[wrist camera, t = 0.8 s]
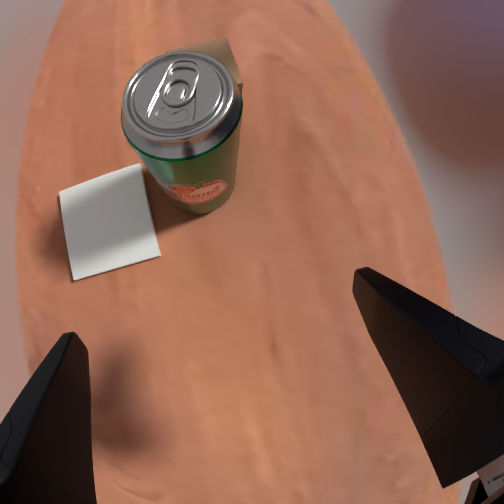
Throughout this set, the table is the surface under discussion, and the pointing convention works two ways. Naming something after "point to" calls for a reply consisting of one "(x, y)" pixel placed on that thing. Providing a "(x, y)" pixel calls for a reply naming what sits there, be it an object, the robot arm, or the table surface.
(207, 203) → the soda can
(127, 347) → the table surface
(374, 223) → the table surface
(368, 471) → the table surface
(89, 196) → the coaster
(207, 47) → the letter cube
